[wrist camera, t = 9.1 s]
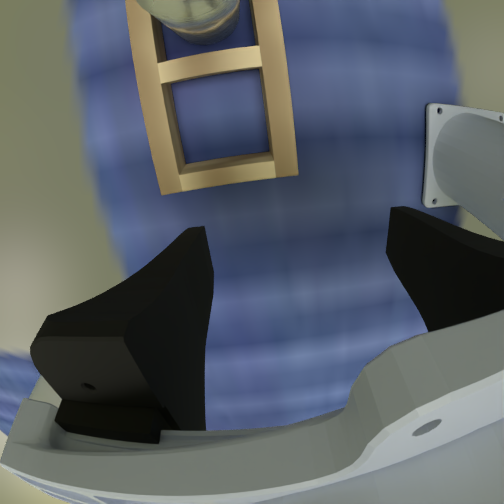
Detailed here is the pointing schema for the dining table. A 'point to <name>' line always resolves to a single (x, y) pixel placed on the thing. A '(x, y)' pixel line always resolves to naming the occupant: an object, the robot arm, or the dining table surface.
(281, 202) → the dining table surface
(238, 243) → the dining table surface
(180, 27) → the pin
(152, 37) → the tan frame
